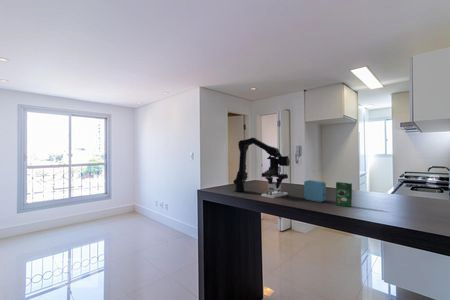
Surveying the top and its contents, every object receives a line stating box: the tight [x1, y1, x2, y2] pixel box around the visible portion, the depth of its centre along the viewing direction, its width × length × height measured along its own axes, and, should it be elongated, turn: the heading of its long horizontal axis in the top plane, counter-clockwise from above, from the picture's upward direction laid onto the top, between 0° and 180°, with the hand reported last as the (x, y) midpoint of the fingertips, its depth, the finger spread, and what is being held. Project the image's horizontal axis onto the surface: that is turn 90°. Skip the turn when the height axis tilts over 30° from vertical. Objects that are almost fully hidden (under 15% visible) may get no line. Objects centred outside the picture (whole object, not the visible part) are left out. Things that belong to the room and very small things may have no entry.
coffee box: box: [335, 181, 353, 208], centre depth 126 cm, size 8×3×13 cm, turn 54°
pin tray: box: [261, 188, 289, 199], centre depth 158 cm, size 10×17×3 cm, turn 131°
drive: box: [267, 181, 282, 192], centre depth 158 cm, size 5×10×5 cm, turn 143°
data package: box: [303, 179, 327, 203], centre depth 141 cm, size 12×4×12 cm, turn 42°
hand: (274, 187), depth 158 cm, fingers closed on drive, 5 cm apart
